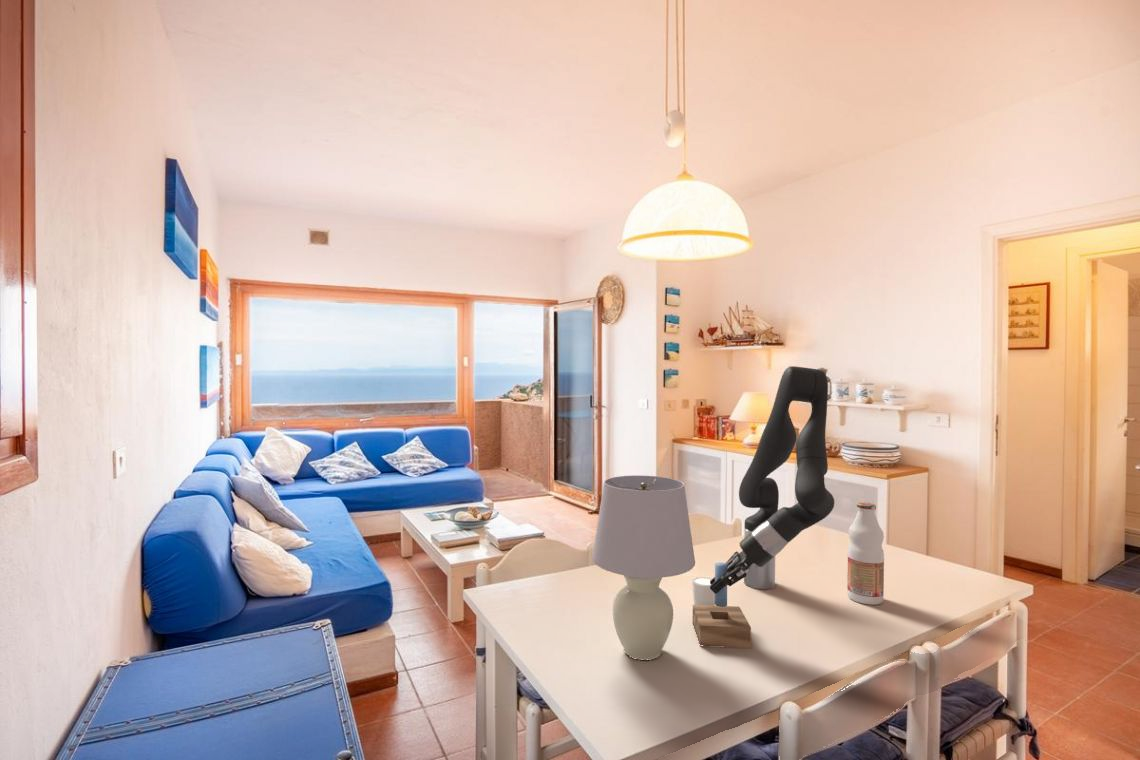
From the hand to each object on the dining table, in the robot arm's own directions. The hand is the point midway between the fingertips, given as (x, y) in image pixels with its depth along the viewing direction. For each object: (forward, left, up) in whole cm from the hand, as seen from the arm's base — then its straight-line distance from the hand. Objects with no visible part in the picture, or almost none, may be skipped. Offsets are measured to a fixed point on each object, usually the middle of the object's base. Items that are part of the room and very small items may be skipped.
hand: (712, 587), depth 140 cm
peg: (0, +2, -4) cm, 4 cm away
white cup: (-18, +1, -12) cm, 21 cm away
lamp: (+10, -18, -12) cm, 24 cm away
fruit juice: (-27, +49, -12) cm, 57 cm away
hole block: (0, +2, -12) cm, 12 cm away
